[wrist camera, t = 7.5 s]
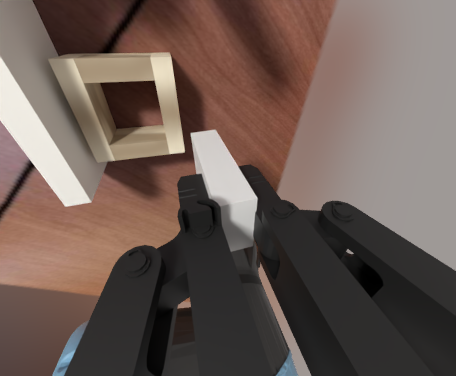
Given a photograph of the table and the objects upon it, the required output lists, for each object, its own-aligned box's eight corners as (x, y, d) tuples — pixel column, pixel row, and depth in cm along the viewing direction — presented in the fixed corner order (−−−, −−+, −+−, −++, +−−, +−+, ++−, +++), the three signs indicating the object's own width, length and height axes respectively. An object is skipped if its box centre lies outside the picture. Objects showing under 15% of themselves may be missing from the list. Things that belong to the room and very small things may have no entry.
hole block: (181, 136, 23) (184, 152, 20) (106, 143, 21) (97, 162, 18) (169, 52, 18) (171, 57, 15) (68, 53, 16) (47, 59, 13)
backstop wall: (107, 161, 22) (91, 202, 17) (88, 164, 22) (65, 206, 16) (-57, -191, 10) (-324, -462, 4) (-111, -199, 9) (-476, -510, 4)
